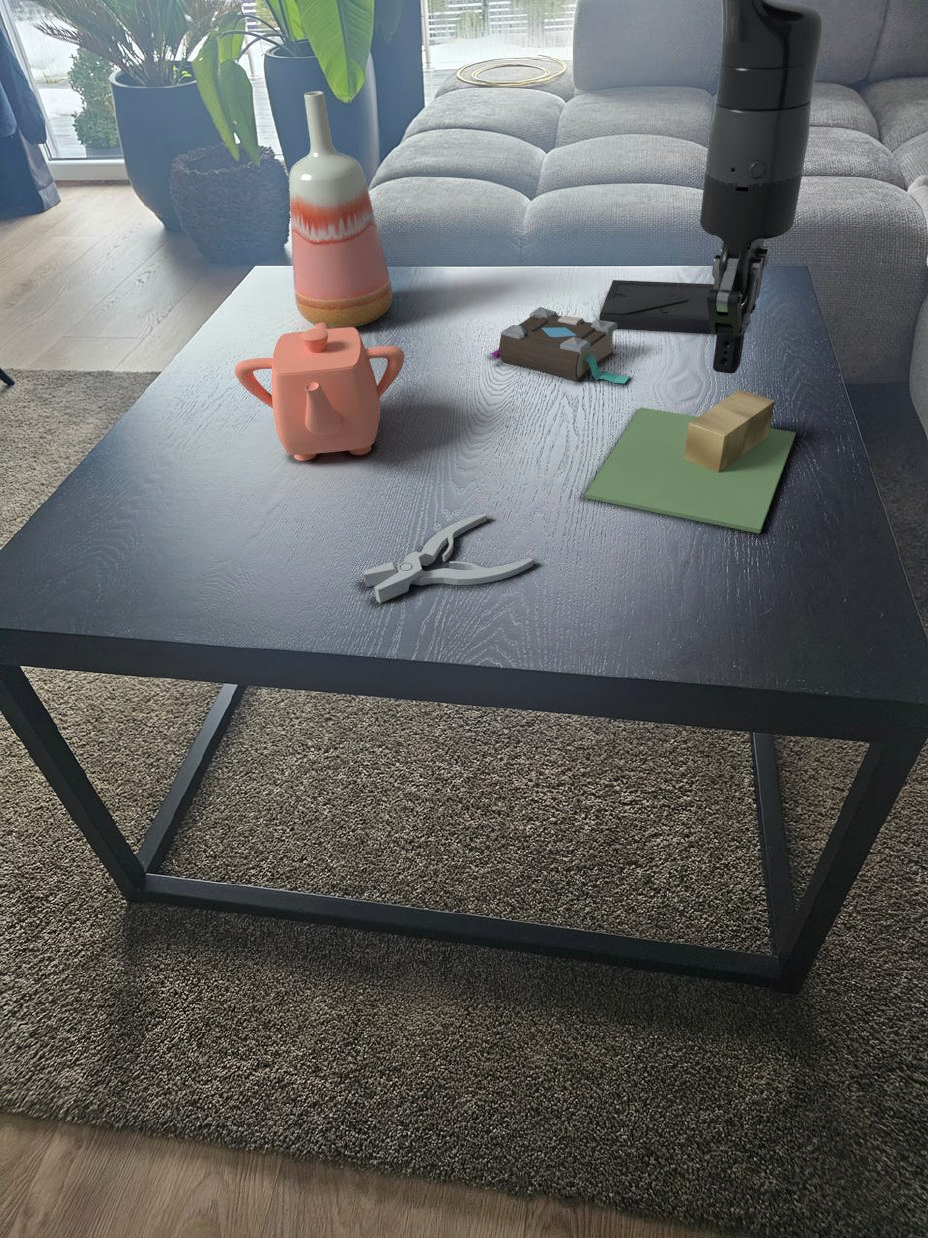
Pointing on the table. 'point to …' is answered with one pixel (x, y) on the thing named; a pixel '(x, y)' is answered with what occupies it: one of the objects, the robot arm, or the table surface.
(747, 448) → the block
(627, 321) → the picture frame
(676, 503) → the mat
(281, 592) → the table surface
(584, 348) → the book
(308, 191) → the vase
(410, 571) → the pliers
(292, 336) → the teapot
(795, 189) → the robot arm
